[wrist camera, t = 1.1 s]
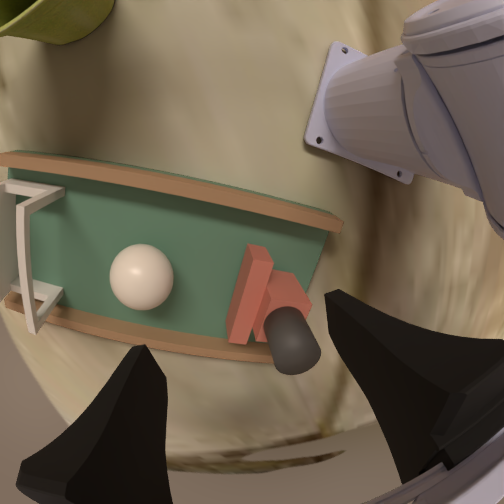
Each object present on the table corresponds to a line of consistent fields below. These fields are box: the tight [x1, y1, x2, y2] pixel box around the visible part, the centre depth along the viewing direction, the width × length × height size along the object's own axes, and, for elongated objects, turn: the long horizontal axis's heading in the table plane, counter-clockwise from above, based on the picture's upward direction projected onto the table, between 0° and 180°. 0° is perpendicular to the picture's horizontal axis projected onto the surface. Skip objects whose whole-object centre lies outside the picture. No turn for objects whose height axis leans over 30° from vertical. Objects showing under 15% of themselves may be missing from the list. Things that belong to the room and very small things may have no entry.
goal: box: [0, 178, 65, 335], centre depth 14 cm, size 5×8×5 cm, turn 164°
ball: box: [110, 244, 174, 310], centre depth 16 cm, size 4×4×4 cm
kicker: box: [226, 243, 321, 375], centre depth 16 cm, size 4×6×7 cm, turn 164°
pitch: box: [0, 150, 344, 363], centre depth 18 cm, size 24×12×2 cm, turn 74°
